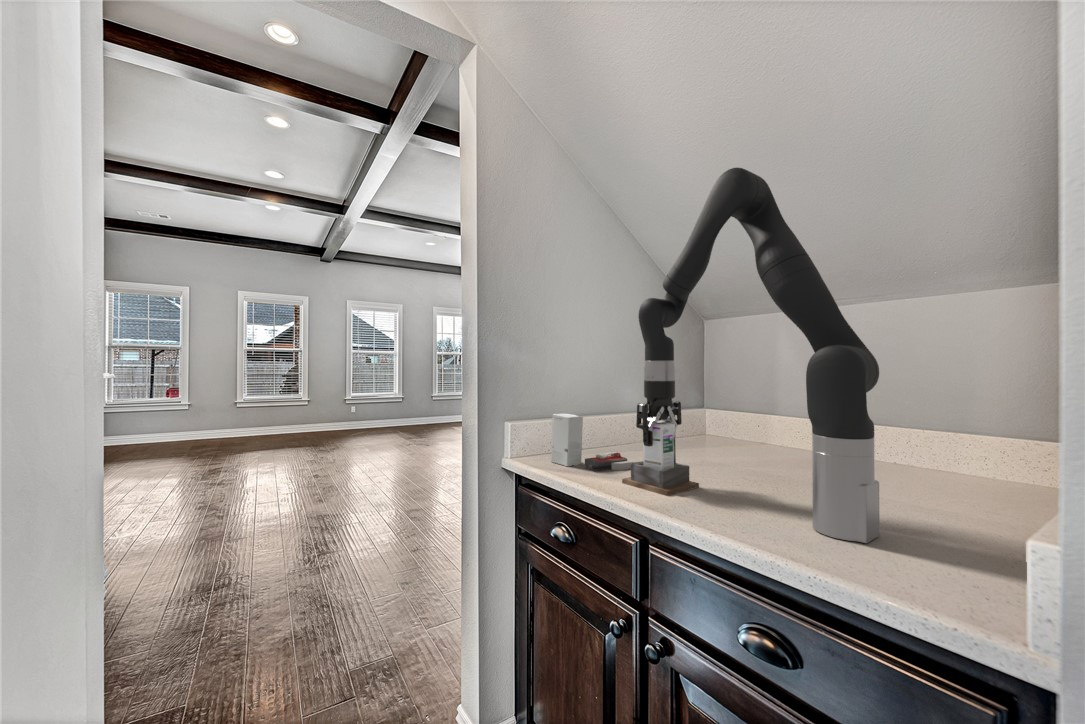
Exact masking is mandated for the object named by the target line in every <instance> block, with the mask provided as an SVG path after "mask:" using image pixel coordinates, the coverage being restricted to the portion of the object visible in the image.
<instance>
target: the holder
mask: <svg viewBox="0 0 1085 724" xmlns="http://www.w3.org/2000/svg"><path fill="white" fill-rule="evenodd" d="M638 462H639V463H634V462H633V464H631V469H630V476H629V477H625V478H622V480H621V482H622V484H625V485H627V486H632V487H636V488H640V489H643V490H645V491H649V492H652V493H656V494H659V495H663V496H671V495H675V494H678V493H682V492H687V491H689V490H693V489H697V488H699V487H700V483H699V482H695V481H692V480H690V465H686V464H682V463H677V462H676V467H675V468H670V469H665V470H659V469H655V468H651V467H647V466H644V462H641V461H638Z"/></svg>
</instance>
